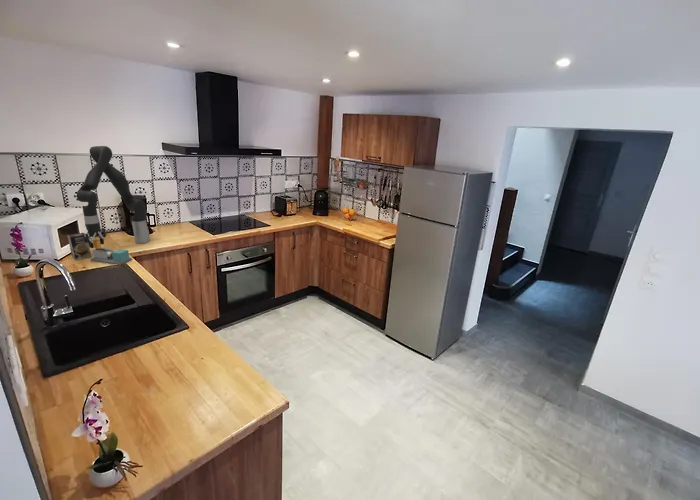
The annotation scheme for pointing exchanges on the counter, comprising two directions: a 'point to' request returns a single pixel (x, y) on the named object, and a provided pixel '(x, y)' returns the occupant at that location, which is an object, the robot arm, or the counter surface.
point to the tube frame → (118, 257)
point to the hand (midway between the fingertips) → (97, 246)
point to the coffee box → (79, 246)
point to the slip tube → (98, 246)
